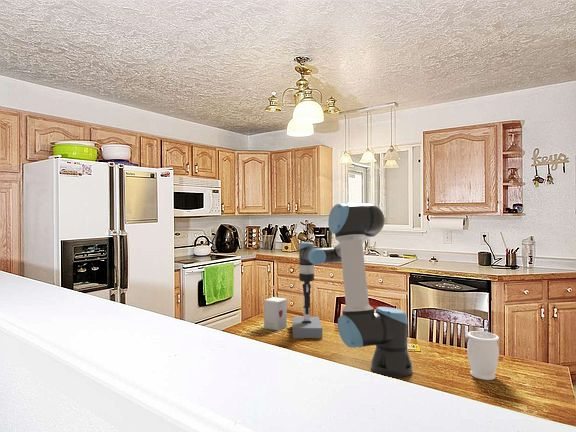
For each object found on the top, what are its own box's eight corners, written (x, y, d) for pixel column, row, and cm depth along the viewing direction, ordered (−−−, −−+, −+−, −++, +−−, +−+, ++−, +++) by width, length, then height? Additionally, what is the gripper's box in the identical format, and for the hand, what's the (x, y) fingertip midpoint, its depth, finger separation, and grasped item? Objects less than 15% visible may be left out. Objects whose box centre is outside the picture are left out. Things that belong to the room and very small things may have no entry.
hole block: (322, 338, 180) (322, 328, 180) (293, 338, 180) (293, 328, 180) (318, 326, 200) (318, 316, 200) (292, 326, 200) (292, 316, 200)
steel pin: (309, 327, 188) (309, 297, 188) (303, 327, 188) (303, 297, 188) (309, 325, 191) (309, 296, 191) (303, 325, 191) (303, 296, 191)
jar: (471, 367, 145) (471, 328, 145) (501, 374, 139) (501, 334, 139) (463, 376, 137) (463, 335, 137) (495, 384, 131) (495, 341, 131)
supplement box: (277, 331, 191) (277, 301, 191) (263, 328, 196) (263, 299, 196) (287, 326, 199) (287, 298, 199) (273, 324, 204) (273, 296, 204)
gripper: (298, 270, 198) (298, 315, 198) (299, 275, 182) (299, 323, 182) (312, 270, 198) (312, 315, 198) (315, 275, 182) (315, 323, 182)
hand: (306, 319), depth 190 cm, fingers closed on steel pin, 3 cm apart
